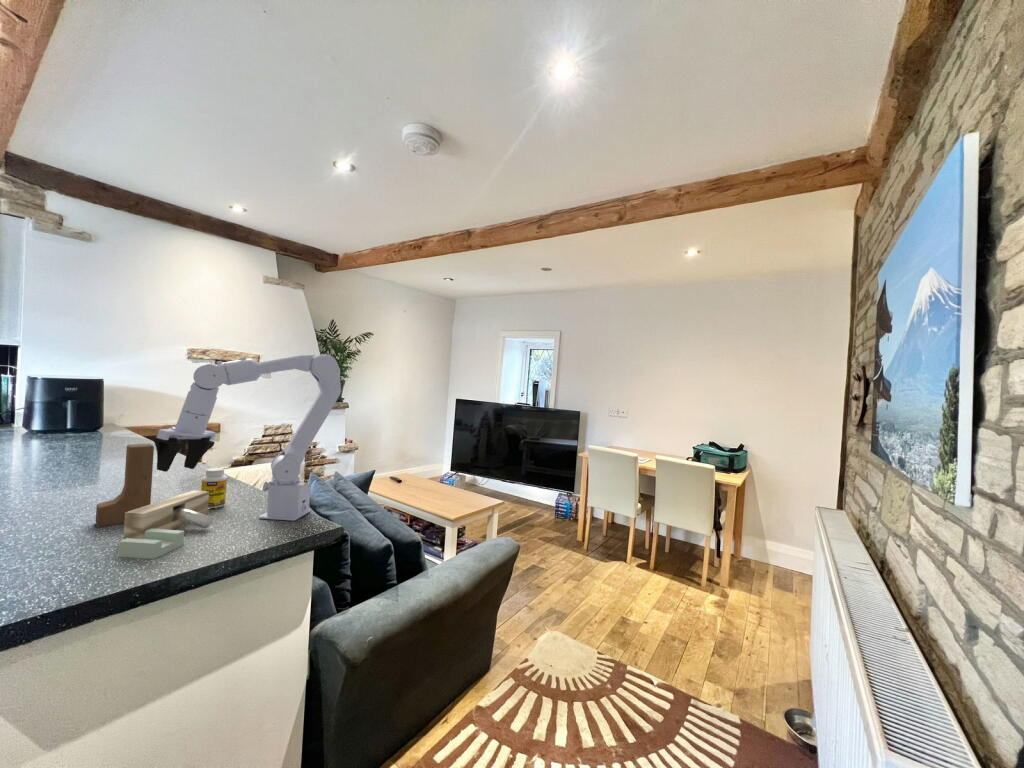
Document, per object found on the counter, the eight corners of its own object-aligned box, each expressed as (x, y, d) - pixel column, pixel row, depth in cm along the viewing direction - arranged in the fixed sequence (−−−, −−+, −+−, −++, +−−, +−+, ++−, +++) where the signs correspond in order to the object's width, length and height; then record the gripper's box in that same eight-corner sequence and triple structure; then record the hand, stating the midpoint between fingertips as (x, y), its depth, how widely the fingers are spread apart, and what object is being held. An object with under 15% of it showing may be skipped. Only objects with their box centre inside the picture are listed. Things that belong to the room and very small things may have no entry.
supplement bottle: (201, 511, 107) (203, 472, 107) (198, 505, 111) (200, 468, 111) (227, 507, 110) (229, 470, 110) (223, 502, 114) (225, 466, 114)
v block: (183, 544, 86) (184, 530, 86) (153, 559, 79) (154, 543, 79) (150, 542, 86) (151, 528, 86) (118, 556, 79) (119, 541, 79)
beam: (207, 515, 103) (209, 491, 103) (141, 543, 85) (143, 513, 85) (192, 514, 103) (193, 490, 103) (123, 541, 85) (125, 512, 86)
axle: (211, 526, 96) (214, 514, 96) (202, 530, 93) (205, 518, 93) (171, 513, 96) (174, 502, 96) (160, 517, 93) (164, 506, 93)
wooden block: (96, 528, 92) (102, 448, 92) (95, 522, 95) (100, 445, 95) (149, 519, 99) (154, 445, 99) (146, 514, 102) (151, 443, 102)
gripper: (203, 410, 104) (185, 462, 102) (153, 406, 90) (131, 466, 88) (229, 417, 104) (211, 470, 102) (183, 414, 90) (161, 475, 88)
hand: (175, 469), depth 95 cm, fingers open, 7 cm apart
